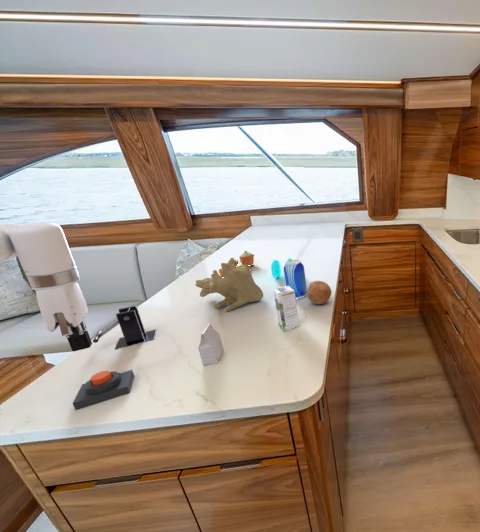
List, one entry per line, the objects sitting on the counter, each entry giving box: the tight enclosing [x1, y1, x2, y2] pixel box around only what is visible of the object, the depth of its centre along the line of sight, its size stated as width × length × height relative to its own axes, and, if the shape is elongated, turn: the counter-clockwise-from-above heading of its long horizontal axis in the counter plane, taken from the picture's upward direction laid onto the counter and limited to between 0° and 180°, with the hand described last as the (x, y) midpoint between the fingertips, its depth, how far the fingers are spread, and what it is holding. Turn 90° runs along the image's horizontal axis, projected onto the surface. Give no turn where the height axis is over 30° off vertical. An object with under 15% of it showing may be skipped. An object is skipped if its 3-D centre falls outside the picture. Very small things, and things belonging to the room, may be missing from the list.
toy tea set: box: [217, 250, 255, 277], centre depth 166 cm, size 26×16×10 cm, turn 15°
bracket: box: [114, 305, 157, 350], centre depth 98 cm, size 10×8×12 cm
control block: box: [72, 369, 135, 411], centre depth 77 cm, size 10×8×4 cm
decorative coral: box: [195, 257, 264, 313], centre depth 124 cm, size 26×22×25 cm
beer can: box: [283, 259, 308, 298], centre depth 130 cm, size 8×8×16 cm
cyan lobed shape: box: [270, 257, 293, 279], centre depth 155 cm, size 10×10×10 cm
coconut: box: [306, 280, 332, 305], centre depth 124 cm, size 10×10×10 cm
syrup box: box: [272, 285, 300, 332], centre depth 105 cm, size 6×6×14 cm
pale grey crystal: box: [198, 323, 224, 367], centre depth 89 cm, size 4×7×10 cm, turn 15°
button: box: [90, 370, 112, 385], centre depth 76 cm, size 4×4×2 cm
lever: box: [92, 308, 131, 344], centre depth 96 cm, size 12×6×2 cm, turn 125°
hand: (82, 347), depth 73 cm, fingers closed
